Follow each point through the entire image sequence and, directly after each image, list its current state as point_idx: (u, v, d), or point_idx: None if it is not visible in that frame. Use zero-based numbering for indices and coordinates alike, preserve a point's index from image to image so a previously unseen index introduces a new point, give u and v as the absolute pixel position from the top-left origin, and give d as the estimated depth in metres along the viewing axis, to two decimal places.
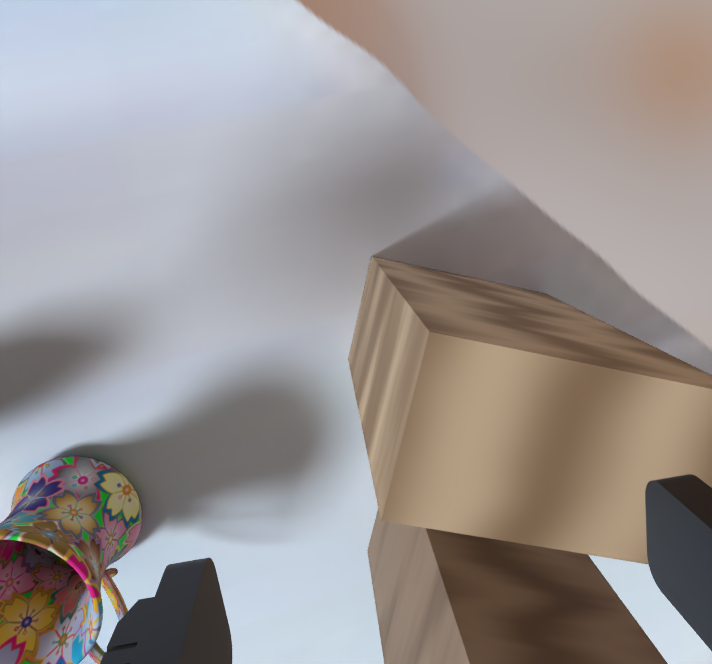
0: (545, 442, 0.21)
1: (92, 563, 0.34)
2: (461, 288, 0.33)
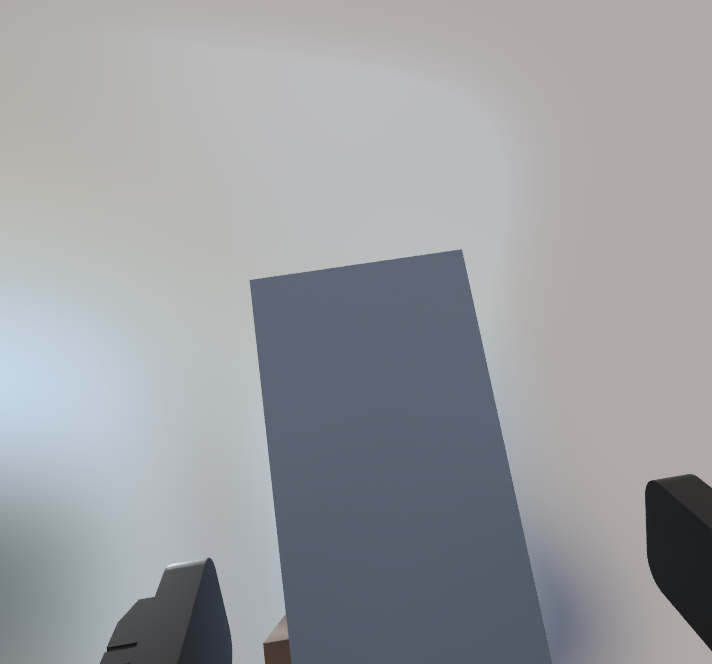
0: None
1: None
2: None
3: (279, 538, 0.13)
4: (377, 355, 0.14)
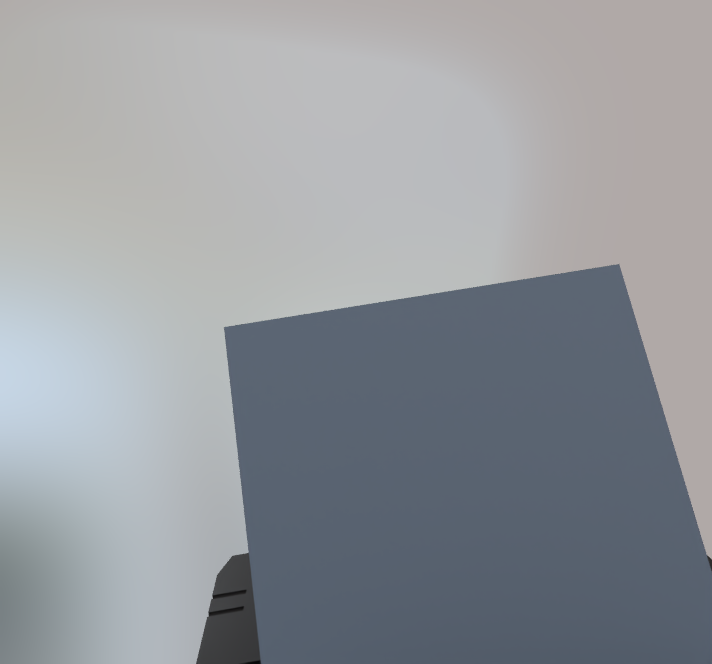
0: None
1: None
2: None
3: None
4: (473, 475, 0.07)
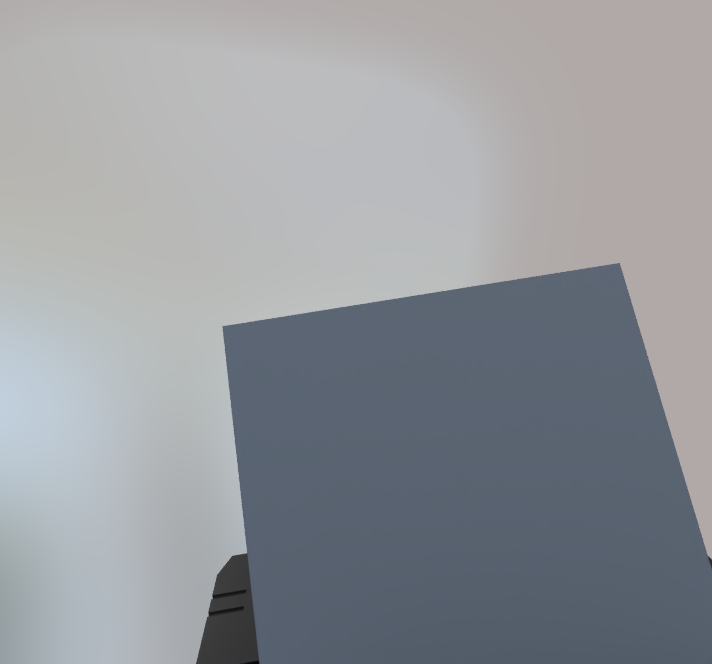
0: None
1: None
2: None
3: None
4: (473, 475, 0.07)
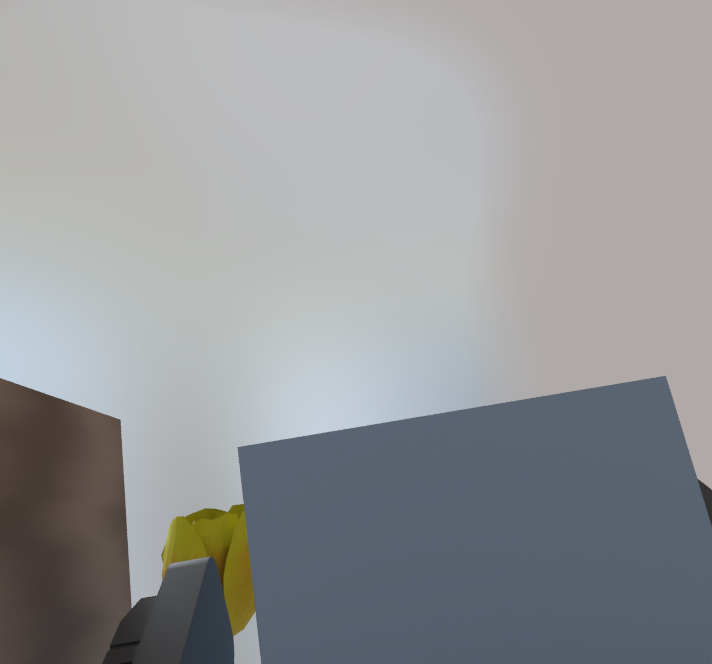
0: None
1: None
2: None
3: None
4: (511, 619, 0.06)
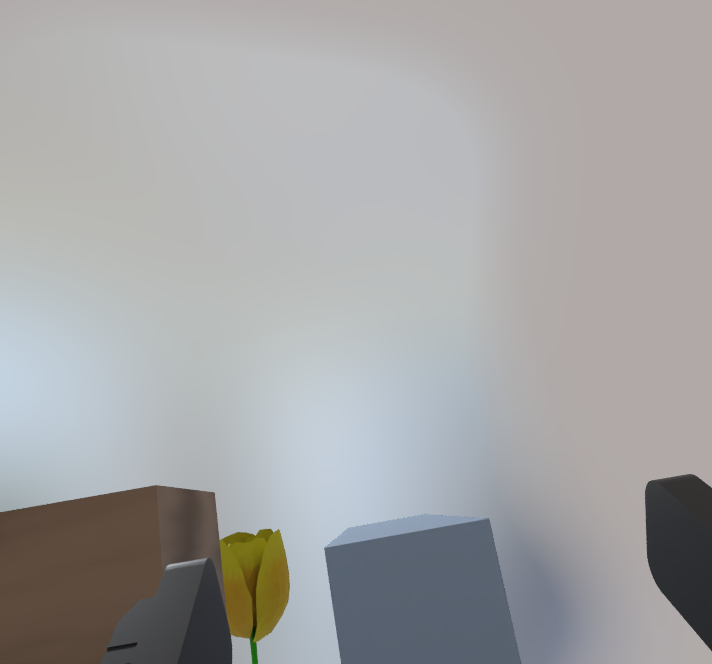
0: None
1: None
2: None
3: None
4: (426, 613, 0.18)
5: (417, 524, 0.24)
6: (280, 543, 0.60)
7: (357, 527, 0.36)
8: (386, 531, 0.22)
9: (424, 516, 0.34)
